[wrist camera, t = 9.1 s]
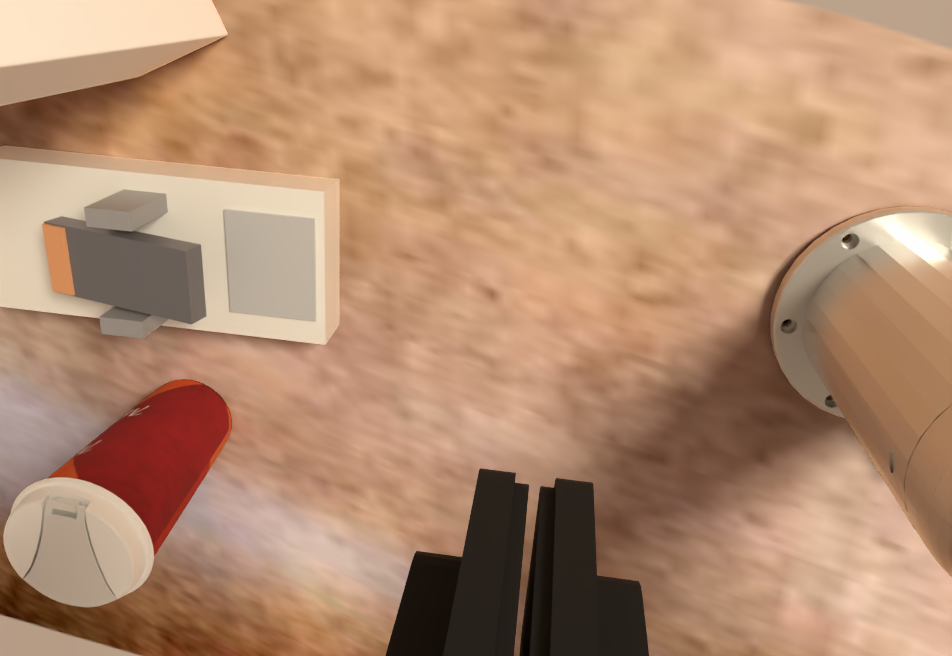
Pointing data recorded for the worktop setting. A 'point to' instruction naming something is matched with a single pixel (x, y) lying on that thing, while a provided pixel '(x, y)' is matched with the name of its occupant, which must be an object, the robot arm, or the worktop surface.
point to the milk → (95, 41)
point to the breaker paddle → (126, 269)
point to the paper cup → (117, 498)
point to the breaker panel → (181, 238)
